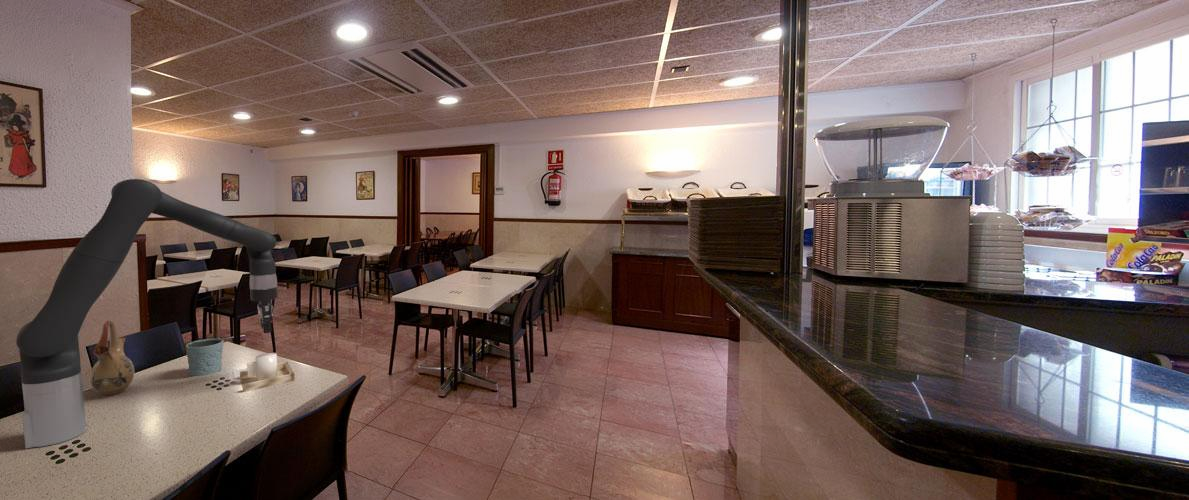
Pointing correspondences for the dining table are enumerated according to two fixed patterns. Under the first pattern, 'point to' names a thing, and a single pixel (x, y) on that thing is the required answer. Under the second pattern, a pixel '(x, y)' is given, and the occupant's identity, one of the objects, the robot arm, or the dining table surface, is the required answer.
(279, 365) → the beech holder
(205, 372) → the teal plant pot
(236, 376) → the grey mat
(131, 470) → the dining table surface
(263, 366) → the cream jug
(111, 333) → the ceramic vessel
